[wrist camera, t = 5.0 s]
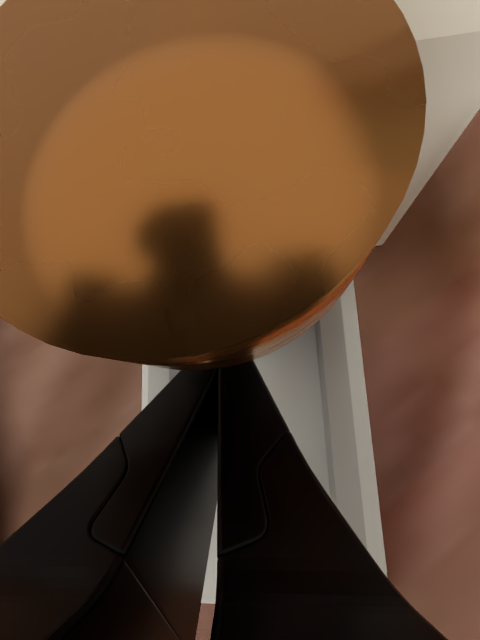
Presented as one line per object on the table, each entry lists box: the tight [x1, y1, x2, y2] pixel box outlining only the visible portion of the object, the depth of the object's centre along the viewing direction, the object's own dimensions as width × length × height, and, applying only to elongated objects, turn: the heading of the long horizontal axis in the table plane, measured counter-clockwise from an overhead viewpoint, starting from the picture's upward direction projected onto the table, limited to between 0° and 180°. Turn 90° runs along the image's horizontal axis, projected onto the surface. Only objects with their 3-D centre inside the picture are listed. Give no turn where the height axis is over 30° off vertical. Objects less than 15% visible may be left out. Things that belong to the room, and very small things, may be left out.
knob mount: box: [0, 0, 480, 604], centre depth 11 cm, size 19×13×10 cm
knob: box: [0, 0, 426, 370], centre depth 9 cm, size 6×6×10 cm
